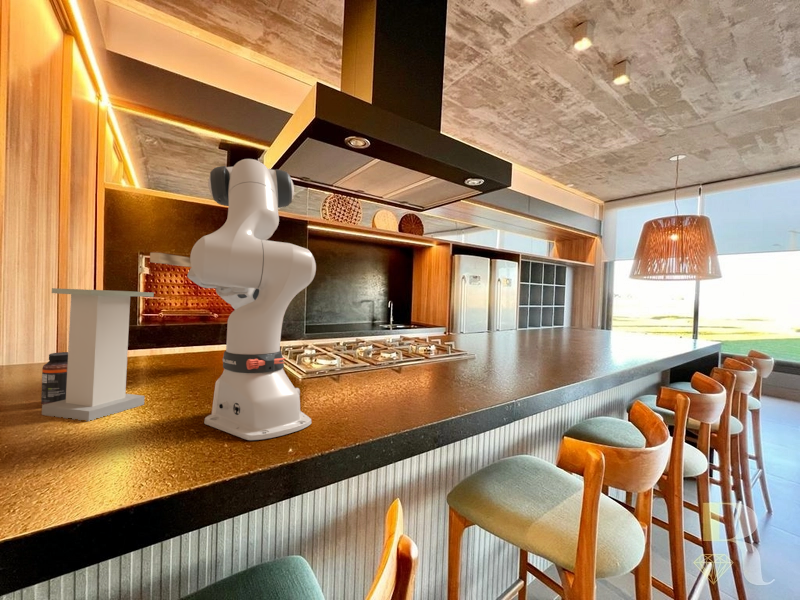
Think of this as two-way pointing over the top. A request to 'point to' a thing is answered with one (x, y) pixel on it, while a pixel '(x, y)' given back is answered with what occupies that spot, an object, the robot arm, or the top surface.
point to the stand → (96, 355)
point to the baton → (170, 259)
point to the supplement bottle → (54, 378)
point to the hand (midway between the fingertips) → (205, 263)
